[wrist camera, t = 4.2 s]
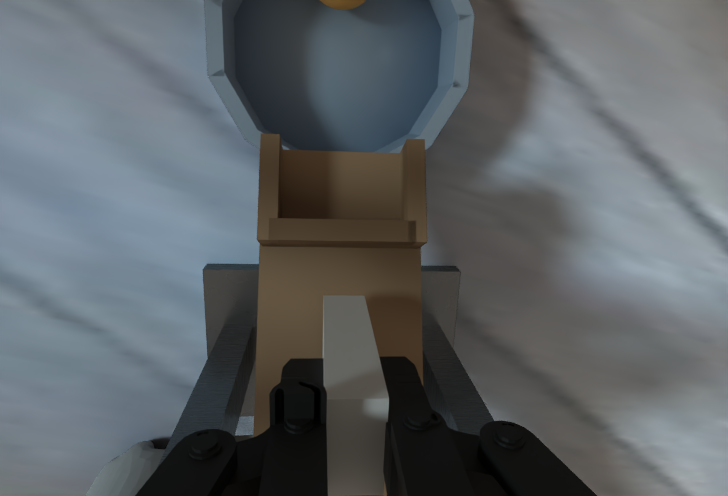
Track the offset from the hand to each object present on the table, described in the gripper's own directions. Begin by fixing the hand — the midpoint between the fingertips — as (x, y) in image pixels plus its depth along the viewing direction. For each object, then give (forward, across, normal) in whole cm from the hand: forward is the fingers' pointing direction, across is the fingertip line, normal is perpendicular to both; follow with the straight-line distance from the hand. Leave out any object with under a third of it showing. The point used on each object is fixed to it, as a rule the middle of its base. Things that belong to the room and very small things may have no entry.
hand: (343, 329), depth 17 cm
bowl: (+9, 0, +11) cm, 14 cm away
